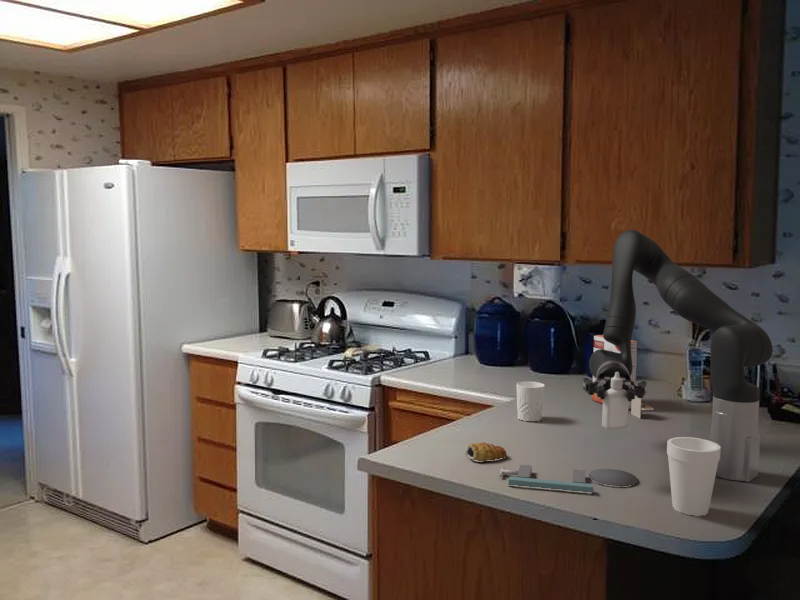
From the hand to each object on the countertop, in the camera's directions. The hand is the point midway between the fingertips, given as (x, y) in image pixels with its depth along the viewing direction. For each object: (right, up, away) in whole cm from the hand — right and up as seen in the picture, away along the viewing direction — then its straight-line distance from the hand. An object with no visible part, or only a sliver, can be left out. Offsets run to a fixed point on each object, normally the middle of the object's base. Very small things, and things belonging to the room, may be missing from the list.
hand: (616, 395), depth 153 cm
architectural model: (+24, -14, +58) cm, 64 cm away
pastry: (-26, -18, +18) cm, 36 cm away
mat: (0, -19, +4) cm, 19 cm away
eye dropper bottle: (+1, -7, +3) cm, 8 cm away
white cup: (-9, -14, +54) cm, 56 cm away
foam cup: (+11, -21, -12) cm, 26 cm away
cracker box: (+20, -12, +71) cm, 75 cm away
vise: (-14, -19, +3) cm, 24 cm away
